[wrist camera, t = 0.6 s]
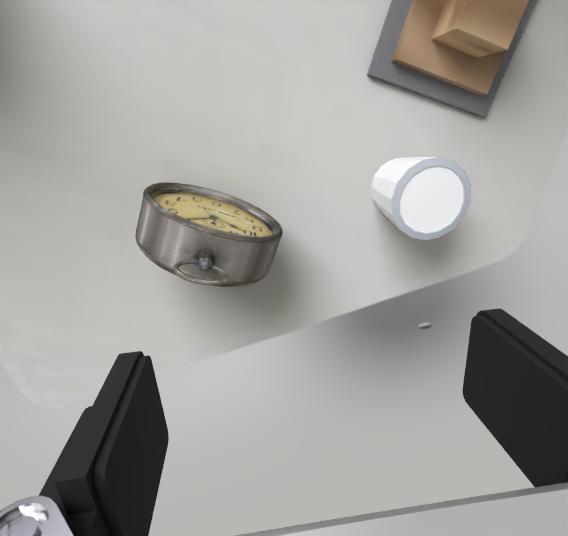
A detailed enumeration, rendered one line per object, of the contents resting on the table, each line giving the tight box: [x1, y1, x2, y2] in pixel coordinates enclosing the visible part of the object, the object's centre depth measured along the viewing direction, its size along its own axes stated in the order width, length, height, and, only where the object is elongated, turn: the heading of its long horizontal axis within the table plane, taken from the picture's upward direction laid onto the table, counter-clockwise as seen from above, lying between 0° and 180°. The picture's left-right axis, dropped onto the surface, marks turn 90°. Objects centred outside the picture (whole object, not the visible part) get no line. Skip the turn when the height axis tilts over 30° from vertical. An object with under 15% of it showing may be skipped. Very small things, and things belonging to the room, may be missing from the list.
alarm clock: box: [136, 183, 282, 287], centre depth 29 cm, size 11×5×16 cm, turn 71°
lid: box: [391, 0, 529, 95], centre depth 30 cm, size 9×9×5 cm
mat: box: [367, 0, 537, 117], centre depth 33 cm, size 12×12×1 cm
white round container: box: [371, 157, 471, 240], centre depth 34 cm, size 7×7×7 cm
